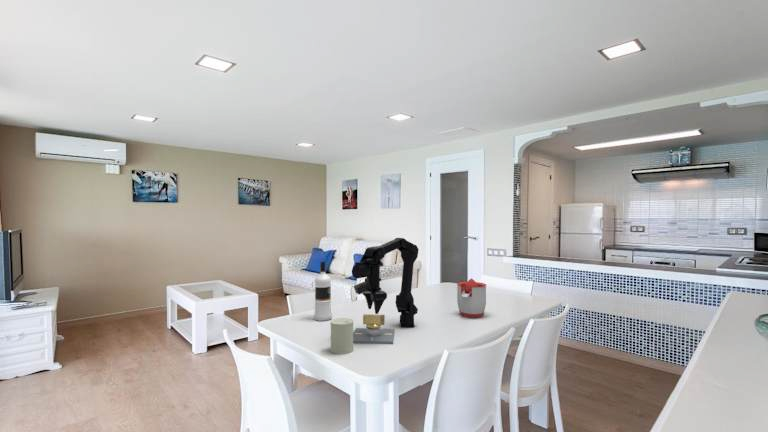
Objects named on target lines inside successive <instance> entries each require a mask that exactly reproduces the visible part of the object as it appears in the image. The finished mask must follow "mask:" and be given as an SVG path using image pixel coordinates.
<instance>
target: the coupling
mask: <svg viewBox="0 0 768 432" xmlns="http://www.w3.org/2000/svg"><path fill="white" fill-rule="evenodd" d="M385 317H386V316H385V314H370V313H369V314H368V313H367V314H366V313H365V314H363V315H362V325H365V327H366V328H368V329H379V328H380V329H382V328H381V327H382V326H385V321H386V320H385Z"/></svg>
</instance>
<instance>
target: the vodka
mask: <svg viewBox="0 0 768 432" xmlns="http://www.w3.org/2000/svg"><path fill="white" fill-rule="evenodd" d="M319 269H320V274H319V275H317V276H316V277H315V279H314V287H315V288H314V314H313V319H314V320H315V321H317V322H327V321H331V320H332V317H333V313H332V307H331V306H332V305H331V303H332V299H331V298H332V297H331V296H332V295H331V293H332V292H331V290H332V288H331V281H332V279H331V277H330V276H329V275H327V274H326V261H324V260H321V261H320V267H319Z"/></svg>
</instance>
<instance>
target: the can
mask: <svg viewBox="0 0 768 432" xmlns="http://www.w3.org/2000/svg"><path fill="white" fill-rule="evenodd" d="M353 334H354V319H352V318H349V317H338V318H337V317H336V318H335V319H330V350H329V351H330V352H331V353H333V354H335V355H345V354H350V353H352V352H354V343H353Z"/></svg>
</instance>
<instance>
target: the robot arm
mask: <svg viewBox="0 0 768 432" xmlns="http://www.w3.org/2000/svg"><path fill="white" fill-rule="evenodd" d="M395 250H398V251H399V252H400V257H401V259H402V262H403V264H402V265H403V266H402V274H401V275H402V277H401V287H400V292H399V294H396V296H395V307H396V309H397V312H398V313H400V315H399V325H400V328H415V315H416V314H418V311H419V309H418V308H417V306H416V305H415V301H414V296H413V294H412V287H413V286H412V284H413V277H414V276H413V274H414V265H415V262H416V260H417V259H418V256H419V248H418V246H417V245H416V244H414V243H412V242H411V241H409V240H407V239H406V238H404V237H395V238H394V239H392V240H390V241H387V242H385V243H383V244H381V245H378V246H376V245H375V246H368V247H366V248H365V250H364V252H363V255H362V257H361V258H360V260H359V261H356V262H355V263H354V265H353V267H352V268H351V275H352V276H353V278H354V279H362V278H364V281H363V282H360V283H358V284H356V285H353V289H354V291H355V294H357V295H361V294H362V295H363V296H364V297H365V300H366V303H367V304H366V305H367V307H368V308H367V309H368V310H371V309H372V307H373V305H374V308H373V309H374V315H379V313H380V310H381V308H382V306H383V304H384V302H385V301H386V299H387V298H388V293H387V292H386V291H385V290H382V288H381V285H380V283H381V282H382V278H380V276H381V270H380V269H381V266H383V265H384V263H383V262H382V261H381V260H382V259H384V258H385V255H386V254H389V253H391V252H393V251H395Z"/></svg>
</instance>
